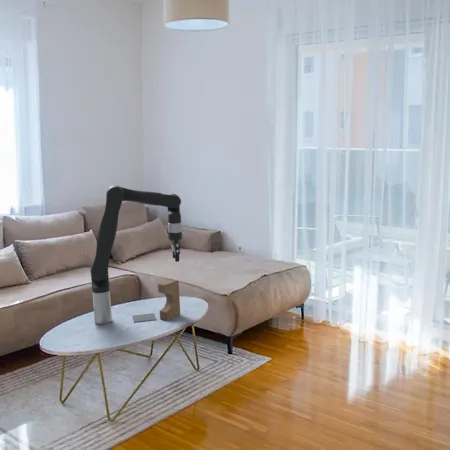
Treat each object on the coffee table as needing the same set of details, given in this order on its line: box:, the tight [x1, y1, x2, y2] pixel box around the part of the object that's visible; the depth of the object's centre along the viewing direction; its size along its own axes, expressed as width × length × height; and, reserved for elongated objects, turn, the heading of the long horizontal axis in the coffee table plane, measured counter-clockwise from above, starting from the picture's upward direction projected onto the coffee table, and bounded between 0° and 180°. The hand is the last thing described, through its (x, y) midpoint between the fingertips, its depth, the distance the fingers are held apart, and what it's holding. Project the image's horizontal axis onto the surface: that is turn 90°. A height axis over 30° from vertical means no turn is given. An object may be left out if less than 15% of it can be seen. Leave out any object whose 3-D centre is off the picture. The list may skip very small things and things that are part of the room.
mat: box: [132, 312, 157, 324], centre depth 327 cm, size 12×11×1 cm
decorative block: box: [157, 279, 181, 321], centre depth 325 cm, size 11×6×20 cm, turn 139°
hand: (176, 259), depth 327 cm, fingers open, 8 cm apart
